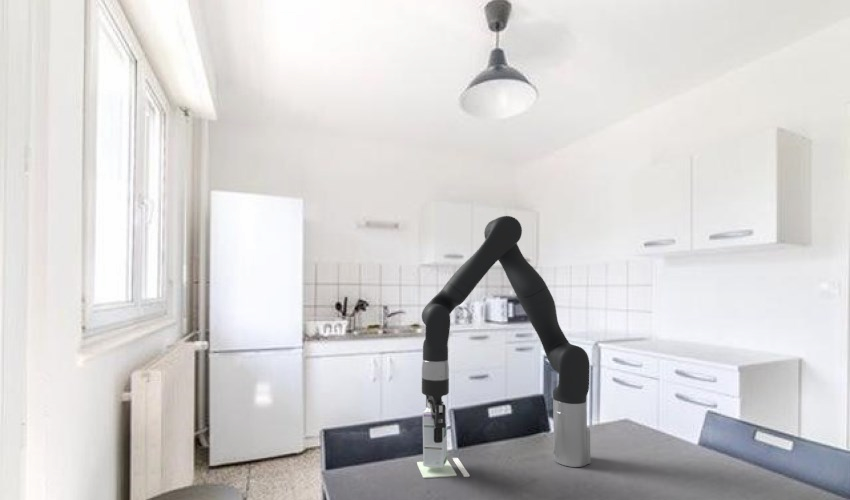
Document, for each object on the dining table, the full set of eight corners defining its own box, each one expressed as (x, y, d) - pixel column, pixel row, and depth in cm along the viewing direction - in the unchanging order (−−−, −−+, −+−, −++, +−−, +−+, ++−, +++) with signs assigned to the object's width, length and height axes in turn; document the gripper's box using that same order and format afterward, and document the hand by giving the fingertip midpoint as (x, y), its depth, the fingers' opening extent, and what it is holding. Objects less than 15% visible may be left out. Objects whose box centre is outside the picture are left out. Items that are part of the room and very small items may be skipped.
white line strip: (457, 458, 127) (457, 457, 127) (469, 476, 115) (469, 475, 115) (452, 459, 127) (452, 458, 127) (464, 477, 115) (464, 475, 115)
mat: (447, 460, 125) (447, 459, 125) (456, 475, 115) (456, 474, 115) (416, 463, 124) (416, 461, 124) (423, 478, 114) (423, 477, 114)
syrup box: (444, 468, 116) (444, 412, 117) (422, 466, 117) (422, 411, 118) (447, 460, 122) (447, 406, 123) (426, 458, 123) (426, 405, 124)
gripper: (455, 381, 115) (455, 446, 114) (442, 370, 129) (442, 428, 128) (427, 382, 114) (426, 448, 112) (417, 371, 128) (416, 429, 126)
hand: (435, 437), depth 120 cm, fingers closed on syrup box, 7 cm apart
